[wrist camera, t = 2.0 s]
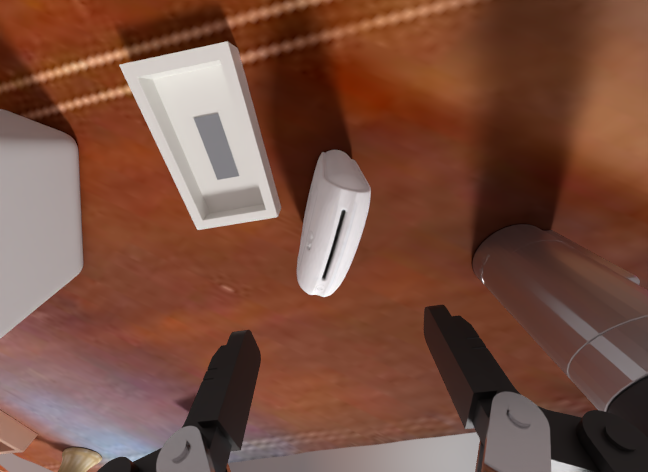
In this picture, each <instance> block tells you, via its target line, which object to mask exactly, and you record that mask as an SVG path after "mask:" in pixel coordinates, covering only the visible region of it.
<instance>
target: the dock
mask: <svg viewBox="0 0 648 472" xmlns="http://www.w3.org/2000/svg"><path fill="white" fill-rule="evenodd" d="M119 66H120V68H121V70H122V72H123V74H124V76H125V78H126V80H127V83H128V85H129V87H130V89H131V91H132V93H133V95H134V97H135V99H136V102H137V104H138V106H139V108H140V110H141V112H142V114H143V116H144V118H145V120H146V123H147V125H148V127H149V129H150V131H151V133H152V135H153V137H154V139H155V142H156V144H157V146H158V148H159V150H160V152H161V154H162V156H163V158H164V160H165V163H166V165H167V167H168V169H169V171H170V173H171V175H172V177H173V179H174V182H175V184H176V186H177V188H178V190H179V192H180V194H181V196H182V198H183V201H184V203H185V205H186V207H187V209H188V211H189V213H190V215H191V217H192V219H193V222H194V224H195V226H196V228H197V230H201V229H207V228H213V227H219V226H226V225H232V224H238V223H244V222H250V221H257V220H263V219H269V218H275V217H278V215H279V212H280V210H281V205H280V201H279V198H278V194H277V190H276V187H275V183H274V179H273V176H272V172H271V168H270V165H269V161H268V157H267V154H266V150H265V146H264V143H263V139H262V135H261V132H260V128H259V124H258V121H257V117H256V113H255V110H254V106H253V102H252V99H251V95H250V91H249V88H248V84H247V80H246V77H245V73H244V69H243V66H242V62H241V58H240V55H239V51H238V48H237V47H235V46H234V45H232V44H231V43H229V42H228V41H227V42H222V43H218V44H213V45H208V46H204V47H199V48H194V49H190V50H185V51H181V52H176V53H171V54H167V55H162V56H157V57H153V58H148V59H144V60H139V61H134V62H130V63H125V64H121V65H119Z"/></svg>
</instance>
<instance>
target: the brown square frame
mask: <svg viewBox="0 0 648 472" xmlns="http://www.w3.org/2000/svg"><path fill="white" fill-rule="evenodd" d="M37 435H38V434H37V433H35V432H34V431H32V430H30V429H29V428H27V427H26V426H24V425H23V424H21V423H20V422H18V421H17V420H15V419H13V418H12V417H10V416H9V415H7V414H6V413H4V412H3V411H1V410H0V454H7V453H17V452H24V451H25V449H26V448H27V447H28V446H29V445H30V444H31V442H32V441H33V440H34V439H35V438H36V436H37Z"/></svg>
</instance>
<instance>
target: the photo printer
mask: <svg viewBox="0 0 648 472" xmlns="http://www.w3.org/2000/svg"><path fill="white" fill-rule="evenodd" d="M370 195H371V188H370V186H369V184H368V182H367V180H366V179H365V177H364V175H363V173H362V171H361V170H360V168H359V166H358V164H357V163H356V161H355V160H353V159H350V157H349V156H348V155H347V154H346V153H345V152H343V151H340V150H330V151H327V152H326V153H325V152H322V153H321V155H320V157H319V159H318V161H317V165H316V168H315V171H314V176H313V179H312V183H311V188H310V192H309V196H308V201H307V205H306V210H305V216H304V219H303V220H304V221H303V228H302V236H301V243H300V250H299V256H298V262H297V280H298V283H299V285H300V287H301V288H302V289H303V290H304V291H305V292H306V293H307V294H309V295H319V296H322V297H326V296H329V295H331V294H332V293H334V292H335V291H336V289H337V288H338V287H339V286H340V284H341V283H342V281H343V279H344V278H345V276H346V274H347V272H348V270H349V267H350V265H351V263H352V260H353V258H354V255H355V252H356V250H357V247H358V244H359V241H360V238H361V235H362V232H363V228H364V225H365V221H366V218H367V214H368V210H369V204H370Z"/></svg>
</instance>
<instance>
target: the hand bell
mask: <svg viewBox="0 0 648 472" xmlns="http://www.w3.org/2000/svg"><path fill="white" fill-rule="evenodd" d="M62 457H63V459H62V464H61V466H60V469H59V471H58V472H86V471H87V470H89V469H90V468H91V467H92V466H94V465H95V464H97V463H99V462H100V461H101V460H102V457H101V456H100V454H98V453H97V452H94V451H92V450H89V449H85V448H76V447H71V448H67V449H65V450H64V451H63V453H62Z"/></svg>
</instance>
